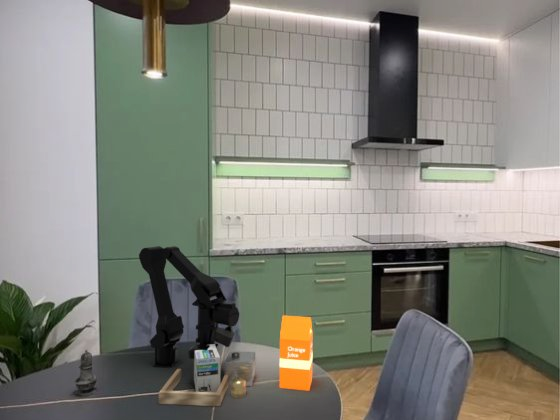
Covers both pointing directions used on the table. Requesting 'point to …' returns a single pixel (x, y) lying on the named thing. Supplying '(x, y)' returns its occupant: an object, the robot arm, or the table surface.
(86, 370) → the grey chess piece
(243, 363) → the grey cube with knob
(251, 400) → the table surface
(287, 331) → the orange juice
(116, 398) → the table surface
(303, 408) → the table surface
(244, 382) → the olive rounded piece
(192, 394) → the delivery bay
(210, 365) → the light bulb box
